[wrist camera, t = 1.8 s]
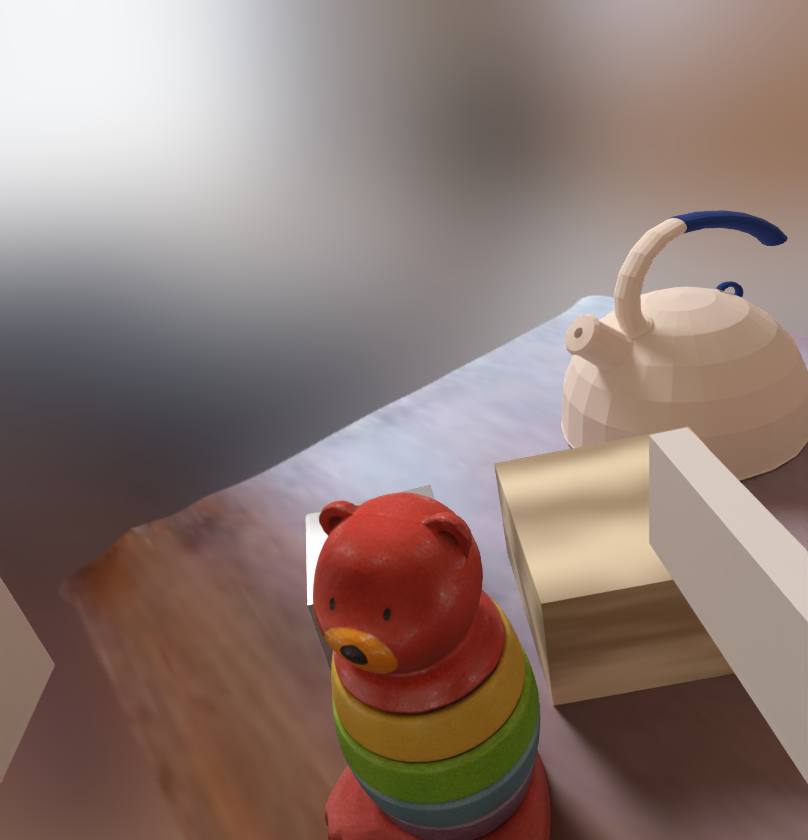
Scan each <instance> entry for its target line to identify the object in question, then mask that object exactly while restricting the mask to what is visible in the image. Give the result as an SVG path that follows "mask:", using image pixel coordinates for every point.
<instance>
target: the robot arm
mask: <svg viewBox="0 0 808 840" xmlns="http://www.w3.org/2000/svg"><path fill="white" fill-rule="evenodd" d="M649 544H650V545H651V547H652V548H653V550H654V551H655V553H656V554H657V556H658V557H659V559H660V560H661V562H662V563H663V565H664V567H665V568H666V570H667V571H668V573H669V574H670V576H671V577H672V579H673V580H674V582H675V583H676V585H677V586H678V588H679V589H680V591H681V592H682V594H683V595H684V597H685V598H686V600H687V601H688V603H689V604H690V606H691V607H692V609H693V611H694V612H695V614H696V615H697V617H698V618H699V620H700V621H701V623H702V624H703V626H704V627H705V629H706V630H707V632H708V633H709V635H710V636H711V638H712V639H713V641H714V642H715V644H716V645H717V647H718V648H719V650H720V652H721V653H722V655H723V656H724V658H725V659H726V661H727V662H728V664H729V665H730V667H731V668H732V670H733V671H734V673H735V674H736V676H737V677H738V679H739V680H740V682H741V683H742V685H743V686H744V688H745V689H746V691H747V692H748V694H749V696H750V697H751V699H752V700H753V702H754V703H755V705H756V706H757V708H758V709H759V711H760V712H761V714H762V715H763V717H764V718H765V720H766V721H767V723H768V724H769V726H770V727H771V729H772V730H773V732H774V733H775V735H776V736H777V738H778V740H779V741H780V743H781V744H782V746H783V747H784V749H785V750H786V752H787V753H788V755H789V756H790V758H791V759H792V761H793V762H794V764H795V765H796V767H797V768H798V770H799V771H800V773H801V774H802V776H803V777H804V779H805V780H806V782H807V784H808V551H807V550H806V549H805V548H804V547H803V546H802V545H801V544H800V543H799V542H798V541H797V540H796V539H795V538H794V537H793V536H792V535H791V534H790V533H789V532H788V531H787V529H786V528H785V527H784V526H783V525H782V524H781V523H780V522H779V521H778V520H777V519H776V518H775V517H774V516H773V515H772V514H771V513H770V512H769V511H768V510H767V509H766V508H765V507H764V506H763V505H762V504H761V503H760V502H759V501H758V500H757V499H756V498H755V497H754V495H753V494H752V493H751V492H750V491H749V490H748V489H747V488H746V487H745V486H744V485H743V484H742V483H741V482H740V481H739V480H738V479H737V478H736V477H735V476H734V475H733V474H732V473H731V472H730V471H729V470H728V469H727V468H726V467H725V466H724V465H723V464H722V463H721V461H720V460H719V459H718V458H717V457H716V456H715V455H714V454H713V453H712V452H711V451H710V450H709V449H708V448H707V447H706V446H705V445H704V444H703V443H702V442H701V441H700V440H699V439H698V438H697V437H696V436H695V435H694V434H693V433H692V432H691V431H690V430H689V429H688V428H682V429H677V430H672V431H667V432H662V433H657V434H652V435H649ZM54 666H55V664H54V663H53V661H52V659H51V658H50V656H49V655H48V653H47V651H46V650H45V648H44V647H43V645H42V643H41V642H40V640H39V639H38V637H37V636H36V634H35V632H34V631H33V629H32V627H31V626H30V624H29V623H28V621H27V619H26V618H25V616H24V615H23V613H22V611H21V610H20V608H19V607H18V605H17V604H16V602H15V600H14V599H13V597H12V595H11V594H10V592H9V590H8V589H7V587H6V586H5V584H4V583H3V581H2V579H1V578H0V784H1V781H2V780H3V777H4V775H5V773H6V771H7V768H8V766H9V764H10V762H11V760H12V758H13V755H14V753H15V751H16V749H17V747H18V744H19V742H20V740H21V738H22V736H23V734H24V731H25V729H26V727H27V725H28V722H29V720H30V718H31V716H32V714H33V712H34V709H35V707H36V705H37V703H38V701H39V698H40V696H41V694H42V692H43V690H44V687H45V685H46V683H47V681H48V679H49V676H50V674H51V672H52V670H53V668H54Z"/></svg>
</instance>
